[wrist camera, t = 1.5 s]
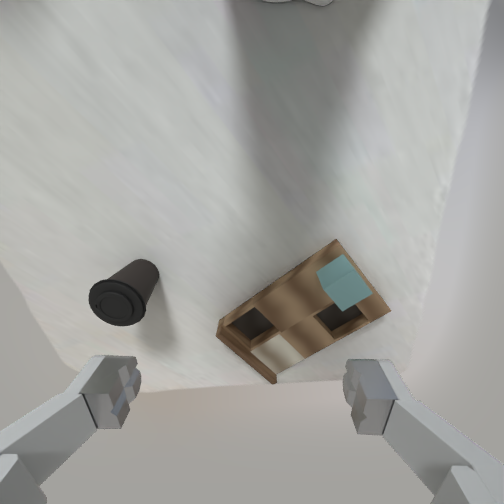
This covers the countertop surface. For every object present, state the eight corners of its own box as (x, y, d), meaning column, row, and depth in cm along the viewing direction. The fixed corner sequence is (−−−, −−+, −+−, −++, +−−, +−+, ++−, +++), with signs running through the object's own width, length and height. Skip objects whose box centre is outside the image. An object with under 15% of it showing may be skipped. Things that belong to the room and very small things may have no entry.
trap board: (336, 238, 39) (344, 249, 36) (385, 302, 44) (396, 317, 40) (219, 320, 47) (215, 336, 43) (271, 366, 52) (272, 384, 48)
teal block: (343, 253, 38) (354, 269, 33) (360, 275, 39) (373, 293, 35) (315, 271, 39) (323, 289, 35) (333, 292, 41) (342, 311, 36)
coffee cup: (111, 260, 42) (70, 293, 33) (152, 245, 41) (121, 276, 32) (136, 297, 46) (105, 336, 36) (175, 284, 44) (153, 323, 35)
